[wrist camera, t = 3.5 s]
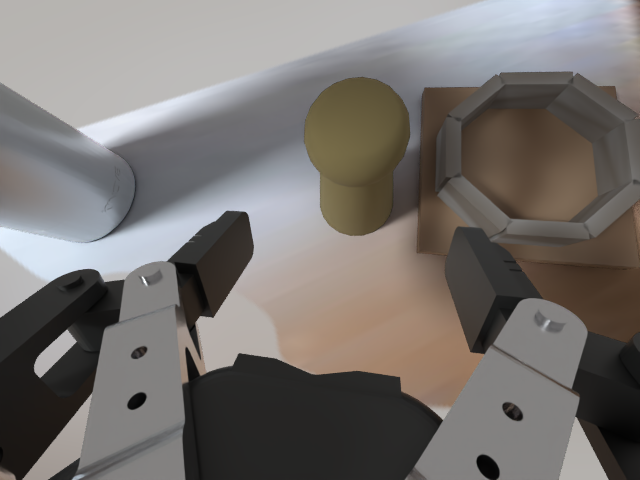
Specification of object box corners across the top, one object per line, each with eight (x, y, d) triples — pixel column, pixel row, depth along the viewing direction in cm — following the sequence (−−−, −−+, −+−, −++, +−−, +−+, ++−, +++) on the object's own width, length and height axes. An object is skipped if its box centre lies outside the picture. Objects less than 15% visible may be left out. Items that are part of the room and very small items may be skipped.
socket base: (416, 252, 21) (428, 243, 18) (421, 96, 24) (432, 62, 20) (625, 269, 19) (684, 262, 16) (603, 95, 22) (649, 58, 18)
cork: (355, 154, 24) (354, 32, 13) (409, 198, 22) (458, 103, 11) (305, 202, 23) (261, 117, 12) (356, 251, 22) (357, 202, 11)
